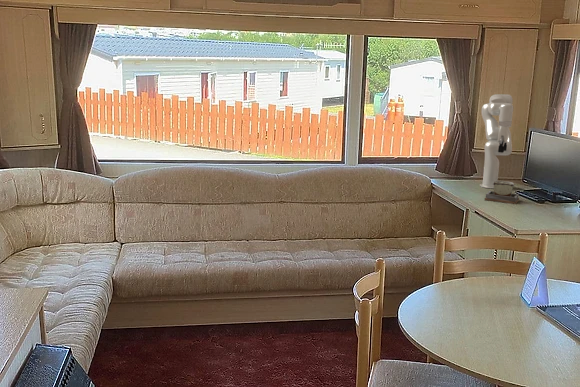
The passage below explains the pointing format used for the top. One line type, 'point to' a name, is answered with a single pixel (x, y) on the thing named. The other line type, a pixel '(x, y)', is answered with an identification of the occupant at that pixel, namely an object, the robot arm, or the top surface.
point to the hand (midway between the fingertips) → (502, 151)
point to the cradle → (502, 198)
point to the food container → (503, 188)
